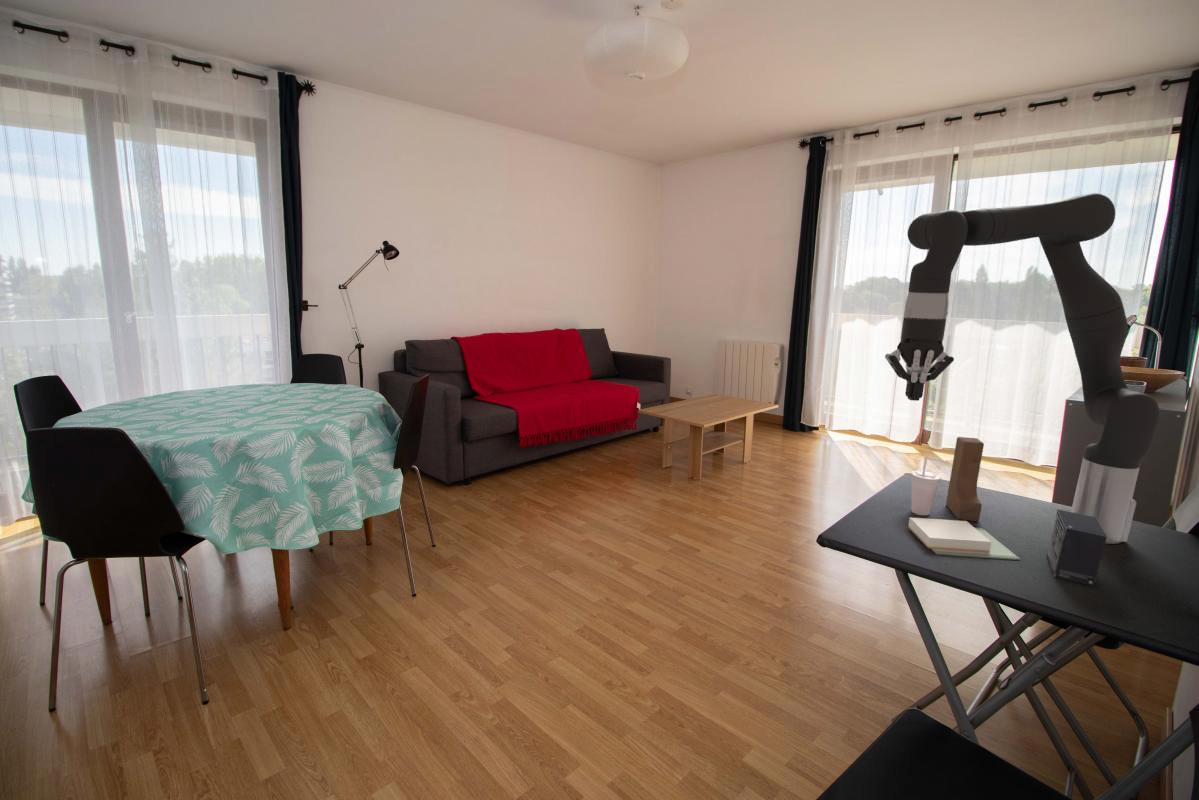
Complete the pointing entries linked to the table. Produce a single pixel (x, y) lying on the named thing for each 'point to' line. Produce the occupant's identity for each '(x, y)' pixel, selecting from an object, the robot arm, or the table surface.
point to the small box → (1076, 547)
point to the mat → (995, 552)
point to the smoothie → (923, 490)
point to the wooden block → (965, 479)
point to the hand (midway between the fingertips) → (913, 399)
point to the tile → (949, 535)
